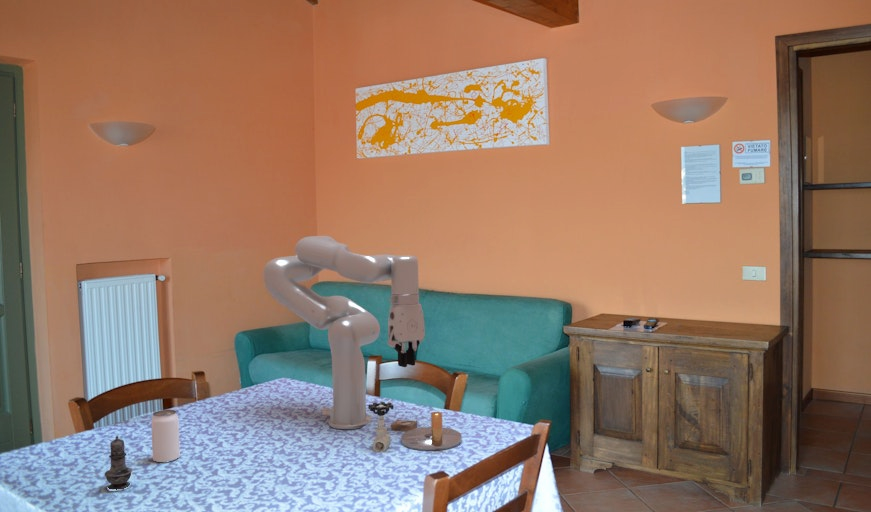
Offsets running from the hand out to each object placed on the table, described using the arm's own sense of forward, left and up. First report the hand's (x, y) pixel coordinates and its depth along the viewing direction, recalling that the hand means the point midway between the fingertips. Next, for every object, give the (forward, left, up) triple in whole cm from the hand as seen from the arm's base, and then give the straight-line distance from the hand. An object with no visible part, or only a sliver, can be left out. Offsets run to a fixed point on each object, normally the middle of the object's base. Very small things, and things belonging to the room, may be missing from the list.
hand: (406, 365), depth 200 cm
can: (-52, -36, -19) cm, 67 cm away
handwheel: (+10, -8, -18) cm, 22 cm away
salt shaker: (-50, -55, -19) cm, 77 cm away
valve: (-1, -16, -19) cm, 25 cm away
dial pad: (-1, +1, -19) cm, 19 cm away
